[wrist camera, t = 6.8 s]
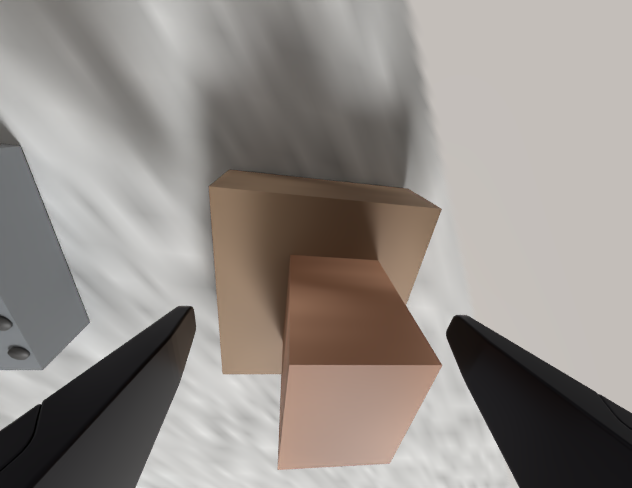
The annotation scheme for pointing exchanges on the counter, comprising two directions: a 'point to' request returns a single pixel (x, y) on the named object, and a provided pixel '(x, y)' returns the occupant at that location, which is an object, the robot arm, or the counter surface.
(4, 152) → the board
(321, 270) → the block on square base
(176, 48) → the counter surface
